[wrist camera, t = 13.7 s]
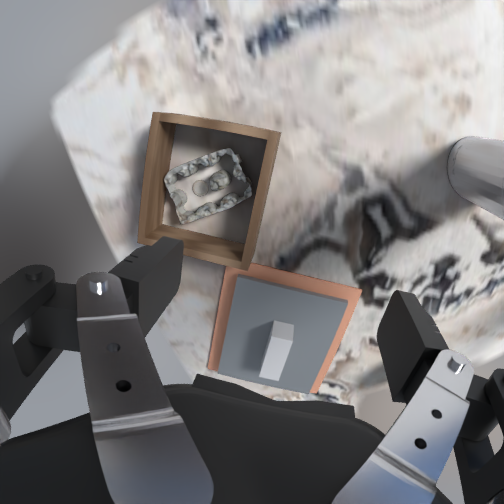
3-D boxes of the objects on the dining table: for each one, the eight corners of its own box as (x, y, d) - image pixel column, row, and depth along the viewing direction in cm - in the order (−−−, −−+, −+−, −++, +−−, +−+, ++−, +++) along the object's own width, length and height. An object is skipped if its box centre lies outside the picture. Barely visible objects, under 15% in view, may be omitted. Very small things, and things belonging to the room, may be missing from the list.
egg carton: (187, 219, 46) (177, 228, 42) (168, 170, 43) (156, 175, 40) (257, 196, 43) (253, 203, 39) (238, 143, 41) (232, 145, 37)
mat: (361, 289, 46) (362, 290, 45) (316, 391, 54) (316, 393, 54) (228, 256, 47) (227, 257, 46) (208, 367, 55) (207, 368, 55)
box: (281, 132, 39) (278, 133, 34) (254, 253, 46) (247, 271, 40) (171, 113, 40) (152, 112, 35) (155, 229, 47) (137, 242, 41)
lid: (346, 296, 46) (351, 318, 40) (308, 386, 53) (308, 410, 48) (239, 270, 47) (231, 290, 41) (219, 365, 54) (212, 389, 49)
